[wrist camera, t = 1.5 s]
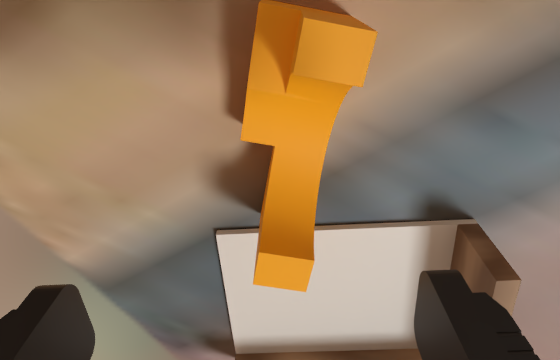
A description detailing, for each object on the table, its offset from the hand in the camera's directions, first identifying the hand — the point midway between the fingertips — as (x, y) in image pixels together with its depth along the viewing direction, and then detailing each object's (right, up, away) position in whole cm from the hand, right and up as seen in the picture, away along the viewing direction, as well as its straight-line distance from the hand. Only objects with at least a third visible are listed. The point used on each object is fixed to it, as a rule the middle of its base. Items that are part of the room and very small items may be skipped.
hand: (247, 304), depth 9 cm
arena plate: (+5, -5, +18) cm, 19 cm away
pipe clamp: (+1, +6, +13) cm, 14 cm away
